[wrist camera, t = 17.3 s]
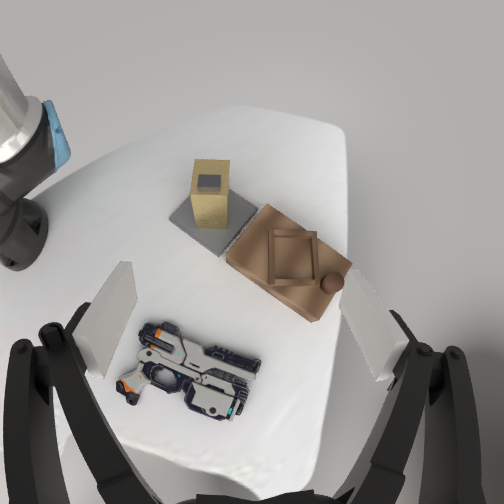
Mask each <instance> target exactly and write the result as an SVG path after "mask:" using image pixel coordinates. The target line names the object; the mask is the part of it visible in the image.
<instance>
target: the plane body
mask: <svg viewBox="0 0 504 504" xmlns="http://www.w3.org/2000/svg"><path fill="white" fill-rule="evenodd" d="M226 263H228V264H229V265H230V266H232V267H233V268H235V269H236V270H237V271H239V272H240V273H242V274H243V275H244V276H246V277H247V278H248V279H250V280H251V281H253V282H254V283H255V284H257V285H258V286H260V287H261V288H262V289H264V290H265V291H267V292H268V293H270V294H271V295H272V296H274V297H275V298H277V299H278V300H279V301H281V302H282V303H284V304H285V305H287V306H288V307H289V308H291V309H292V310H294V311H295V312H297V313H298V314H299V315H301V316H302V317H304V318H305V319H307V320H308V321H310V322H315V321H318V320H319V319H320V318H321V316H322V314H323V313H324V311H325V310H326V308H327V306H328V305H329V303H330V301H331V300H332V298H333V296H334V295H335V293H336V292H338V291H340V290H341V289H342V288H343V286H344V277H345V276H346V274H347V272H348V270H349V268H350V267H351V265H352V263H351V262H350V261H349V260H347V259H346V258H345V257H343V256H342V255H340V254H339V253H338V252H336V251H335V250H334V249H332V248H331V247H329V246H328V245H327V244H325V243H324V242H322V241H321V240H320V239H318V238H317V232H316V231H307V230H305V229H304V228H302V227H301V226H299V225H298V224H297V223H295V222H294V221H292V220H291V219H289V218H288V217H286V216H285V215H283V214H282V213H280V212H279V211H277V210H276V209H274V208H273V207H271V206H270V205H268V204H267V205H266V206H265V207H264V208H263V209H262V211H261V212H260V213H259V214H258V216H257V217H256V218H255V219H254V220H253V222H252V223H251V224H250V225H249V227H248V228H247V229H246V230H245V232H244V233H243V234H242V235H241V236H240V238H239V239H238V240H237V241H236V243H235V244H234V245H233V246H232V248H231V249H230V250H229V251H228V253H227V254H226Z"/></svg>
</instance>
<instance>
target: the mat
mask: <svg viewBox="0 0 504 504" xmlns="http://www.w3.org/2000/svg"><path fill="white" fill-rule="evenodd" d="M256 211H257V207H256V206H254V205H253V204H251V203H250V202H248V201H247V200H245V199H243V198H242V197H240V196H239V195H237V194H236V193H234V192H233V191H231V190H230V189H229V191H228V212H227V229H201V228H197V226H196V221H195V217H194V212H193V207H192V202H191V197H190V196H189V197H188V198H187V199H186V200H185V201H184V203H183V204H182V205H181V206H180V207H179V208H178V209H177V210H176V211H175V212H174V213H173V214H172V216H171V217H170V218H169V220H170V221H171V222H172V223H173V224H175V225H176V226H177V227H179V228H180V229H181V230H183V231H184V232H186V233H187V234H188V235H190V236H191V237H192V238H194V239H195V240H196V241H198V242H199V243H200V244H202V245H203V246H204V247H206V248H207V249H209V250H210V251H211V252H213V253H214V254H215V255H217V256H218V257H219V256H220V255H221V254H222V252H223V251H224V250H225V249H226V247H227V246H228V245H229V244H230V242H231V241H232V240H233V239H234V238H235V236H236V235H237V234H238V233H239V231H240V230H241V229H242V228H243V227H244V225H245V224H246V223H247V222H248V220H249V219H250V218H251V217H252V216H253V214H254V213H255V212H256Z"/></svg>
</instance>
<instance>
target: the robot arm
mask: <svg viewBox="0 0 504 504" xmlns="http://www.w3.org/2000/svg"><path fill="white" fill-rule="evenodd" d="M70 155H71V152H70V148H69V145H68V143H67V140H66V138H65V135H64V132H63V130H62V128H61V125H60V122H59V119H58V116H57V113H56V111H55V108H54V105H53V103H52V101H51V100H47V101H44V102H43V103H42V104H41V102H40V101H39V99H38V98H36V97H34V96H24V94H23V93H22V91H21V89H20V88H19V86H18V84H17V83H16V81H15V79H14V78H13V76H12V74H11V72H10V71H9V69H8V67H7V66H6V63H5V62H4V60H3V58H2V56H1V54H0V263H1V264H2V265H3V266H5V267H7V268H8V269H10V270H13V271H21V270H24V269H26V268H27V267H29V266H30V265H31V264H32V263H33V262H34V261H35V260H36V258H37V257H38V255H39V254H40V252H41V250H42V248H43V246H44V243H45V240H46V237H47V232H48V219H47V215H46V213H45V211H44V209H43V208H42V207H41V206H40V205H38V204H37V203H36V202H34V201H32V200H29V199H26V198H23V197H24V196H26V195H27V194H28V193H29V192H30V191H31V190H33V189H34V188H35V187H37V185H39V184H40V183H42V182H43V181H44V180H45V179H47V178H48V177H49V176H51V175H52V174H53V173H55V172H57V170H58V168H60V167H61V166H62V165H64V164H65V163H66V162H67V161H68V160H69V158H70ZM137 300H138V299H137V294H136V288H135V282H134V275H133V268H132V262H124V261H120V262H119V264H118V265H117V266H116V268H115V269H114V271H113V272H112V273H111V275H110V276H109V278H108V279H107V281H106V282H105V284H104V285H103V287H102V288H101V289H100V291H99V292H98V294H97V295H96V297H95V298H94V300H93V302H92V303H88V302H85V303H84V304H82V305H81V306H80V307H79V308H78V309H77V311H76V312H75V314H74V315H73V317H72V318H71V320H70V321H69V323H68V324H67V326H66V327H65V329H64V328H63V326H62V325H61V324H60V323H57V322H52V323H48V324H46V325H44V326H43V327H42V328H41V329H40V331H39V334H38V336H39V338H40V340H41V343H42V345H43V346H36V347H34V346H33V344H32V343H31V341H30V340H28V339H20V340H18V341H16V342H15V343H14V344H13V345H12V348H11V351H10V357H9V363H8V370H7V378H6V387H5V398H4V415H3V447H4V463H5V474H6V482H7V489H8V496H9V504H70V501H69V498H68V494H67V490H66V486H65V482H64V477H63V473H62V468H61V463H60V457H59V451H58V444H57V437H56V429H55V419H54V406H53V386H55V388H56V391H57V394H58V397H59V400H60V403H61V406H62V408H63V411H64V414H65V416H66V419H67V421H68V424H69V426H70V429H71V431H72V433H73V436H74V438H75V440H76V442H77V444H78V447H79V449H80V451H81V453H82V455H83V457H84V459H85V461H86V463H87V465H88V467H89V469H90V471H91V472H92V474H93V476H94V478H95V480H96V482H97V489H98V491H99V493H100V495H101V496H102V498H103V500H104V501H105V503H106V504H164V503H163V502H162V501H161V500H160V498H159V497H158V496H157V495H156V494H155V493H154V491H153V490H152V489H151V488H150V486H149V485H148V484H147V483H146V481H145V480H144V479H143V477H142V476H141V474H140V473H139V471H138V470H137V469H136V467H135V466H134V464H133V463H132V462H131V460H130V458H129V457H128V455H127V454H126V452H125V451H124V449H123V447H122V446H121V444H120V442H119V441H118V439H117V437H116V436H115V434H114V432H113V431H112V429H111V427H110V425H109V424H108V422H107V420H106V418H105V416H104V414H103V412H102V410H101V409H100V407H99V405H98V403H97V401H96V399H95V396H94V394H93V392H92V390H91V388H90V386H89V384H88V381H87V379H86V377H85V375H84V374H85V371H86V369H87V370H88V372H89V374H90V376H93V377H97V378H102V379H104V378H105V375H106V373H107V370H108V367H109V365H110V362H111V360H112V357H113V355H114V352H115V350H116V348H117V345H118V343H119V341H120V338H121V336H122V334H123V331H124V329H125V327H126V324H127V322H128V320H129V318H130V315H131V313H132V311H133V309H134V307H135V304H136V302H137ZM339 308H340V310H341V312H342V313H343V315H344V317H345V319H346V321H347V323H348V325H349V327H350V329H351V331H352V333H353V335H354V337H355V339H356V341H357V344H358V346H359V348H360V350H361V352H362V354H363V356H364V358H365V360H366V362H367V364H368V366H369V368H370V371H371V373H372V375H373V377H374V379H375V381H381V380H386V379H388V378H389V376H390V374H391V373H392V371H393V373H394V375H395V378H394V380H393V381H392V383H391V384H390V386H389V388H388V389H387V390H388V391H389V392H388V395H387V397H386V400H385V402H384V404H383V407H382V409H381V412H380V414H379V416H378V418H377V421H376V423H375V425H374V427H373V430H372V432H371V434H370V436H369V438H368V440H367V442H366V444H365V446H364V448H363V450H362V452H361V454H360V456H359V457H358V459H357V461H356V463H355V465H354V467H353V469H352V470H351V472H350V474H349V475H348V477H347V479H346V480H345V482H344V483H343V485H342V486H341V487H340V489H339V490H338V491H337V492H336V494H335V495H334V496H333V497H332V498H331V497H328V496H324V495H318V494H314V490H307V491H299V492H290V493H284V494H281V495H278V496H275V497H271V498H268V499H264V500H261V501H250V500H244V499H239V498H234V497H230V496H225V495H202V494H197V495H196V499H190V500H186V501H183V502H179V503H177V504H395V503H396V500H397V498H398V496H399V494H400V492H401V489H402V487H403V485H404V482H405V475H403V470H404V467H405V465H406V462H407V460H408V457H409V454H410V451H411V449H412V445H413V443H414V439H415V436H416V433H417V430H418V426H419V423H420V420H421V416H422V412H423V408H424V404H425V443H424V461H423V472H422V482H421V489H420V496H419V504H486V501H485V497H484V493H483V490H482V486H481V451H480V437H479V427H478V419H477V412H476V405H475V399H474V394H473V388H472V383H471V379H470V374H469V370H468V366H467V361H466V358H465V355H464V352H463V351H462V350H461V349H460V348H458V347H456V346H449V347H447V348H446V350H445V352H444V353H440V352H434V351H433V349H432V348H431V347H430V346H429V345H427V344H425V343H422V342H418V341H417V339H416V338H415V336H414V335H413V334H412V332H411V331H410V329H409V328H408V327H407V325H406V323H405V322H404V321H403V319H402V318H401V316H400V315H399V314H397V313H396V312H395V311H394V310H388V309H387V307H386V306H385V305H384V303H383V302H382V300H381V299H380V297H379V296H378V295H377V293H376V292H375V291H374V289H373V288H372V287H371V285H370V284H369V282H368V281H367V280H366V279H365V277H364V276H363V275H362V273H361V272H360V271H359V270H348V273H347V277H346V280H345V284H344V288H343V292H342V295H341V299H340V302H339Z"/></svg>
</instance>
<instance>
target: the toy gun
mask: <svg viewBox="0 0 504 504" xmlns="http://www.w3.org/2000/svg"><path fill="white" fill-rule="evenodd" d="M138 336H139V340H140V342H141V344H142V345H144V346H146V348H145V349H143V350H140V351H139V352H138V354H137V359H139V360H140V361H139V363H138V365H137V367H136V369H135V370H134V371H132V372H129V373H126V374H123V375H122V376H121V377H120V378H119V379H120V380H118V381H117V382H116V391H117V392H119V393H121V394H122V395H124V396H126V401H127V403H128V404H130V405H132V406H134V405H136V404H137V402H138V399H139V396H140V395H139V392H140V391H141V390H142V388H143V387H144V386H145V385H146V384H149V385H153V386H155V387H157V388H160V389H162V390H164V391H166V392H167V394H170V393H176V392H180V391H181V389H182V390H183V391H184V392H185V394H186V396H185V398H184V402H185V403H186V405H187V407H188V408H189V409H190V410H192V411H195V412H197V413H200V414H203V415H205V416H208V417H210V418H213V419H216V420H219V421H221V420H224V419H227V420H229V421H230V422H231V421H232V420H233V418H234V416H235V415H240V414H241V412H242V410H243V406H244V405H243V404H245V402H246V401H245V400H247V397H248V395H247V394H249V392H250V391H249V389H248V388H247V383H244V384H243V382H241V381H240V382H239V381H238V380H236V381H234V379H235V376H239V377H242V378H245V379H247V380H250V381H255V379H256V374H255V373H257V372H258V370H259V368H260V365H261V360H258V359H255V360H254V361H253V360H250V359H248V358H245V357H242V356H239V355H237V354H234V353H233V352H231V351H230V353H228V350H225V351H223V348H221V347H220V349H218V346H216V345H215V347H213V346H212V347H211V348H209V349H207V350H205V351H204V348H203V346H202V345H200V344H197V343H195V342H193V341H190V340H188V339H186V338H184V337H183V340H182V339H181V338H180V336H181V333H180V332H179V329H178V327H176V326H173V325H171V324H169V323H167V322H164V323H162V324H161V326H160V325H157V326H154V325H152V324H149V323H146V324H145V325H144V327H143V330H140V332H139V334H138ZM164 368H165V369H167V370H169V371H171V372H172V373H173V374H174V376H175V378H176V382H175V385H173V386H168V387H167V386H165V385H163V384H161V383H159V382H157V381H155V380H154V377H158V376H157V373H158V372H159V371H162V370H164ZM153 376H154V377H153Z"/></svg>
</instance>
